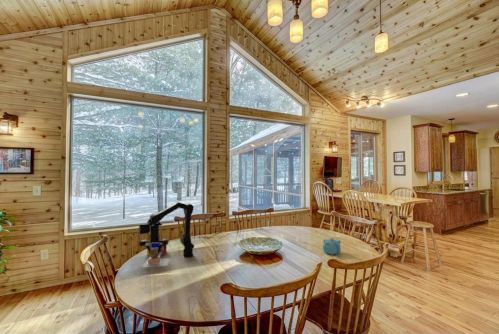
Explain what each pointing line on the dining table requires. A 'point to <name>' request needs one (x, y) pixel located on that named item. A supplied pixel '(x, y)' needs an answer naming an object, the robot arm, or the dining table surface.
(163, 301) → the dining table surface
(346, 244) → the dining table surface
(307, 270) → the dining table surface
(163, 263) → the grey flat slab
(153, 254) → the walnut cube
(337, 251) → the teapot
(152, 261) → the terracotta base
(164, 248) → the puzzle toy
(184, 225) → the robot arm
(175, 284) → the dining table surface
